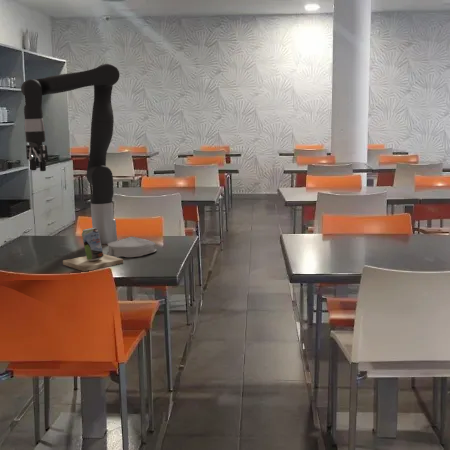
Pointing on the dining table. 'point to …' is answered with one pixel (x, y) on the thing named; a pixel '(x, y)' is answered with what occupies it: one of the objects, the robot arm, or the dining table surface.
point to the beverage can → (92, 244)
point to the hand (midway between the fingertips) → (38, 170)
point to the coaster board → (92, 262)
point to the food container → (131, 247)
